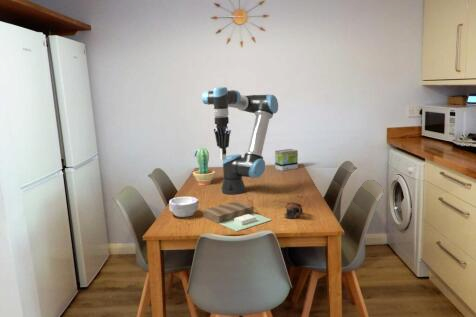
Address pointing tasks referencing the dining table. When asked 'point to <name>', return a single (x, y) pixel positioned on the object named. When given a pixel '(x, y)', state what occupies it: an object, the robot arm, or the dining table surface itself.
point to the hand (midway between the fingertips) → (223, 159)
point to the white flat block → (245, 219)
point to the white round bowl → (183, 206)
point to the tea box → (286, 159)
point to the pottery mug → (293, 210)
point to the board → (227, 211)
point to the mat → (238, 227)
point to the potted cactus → (203, 167)
